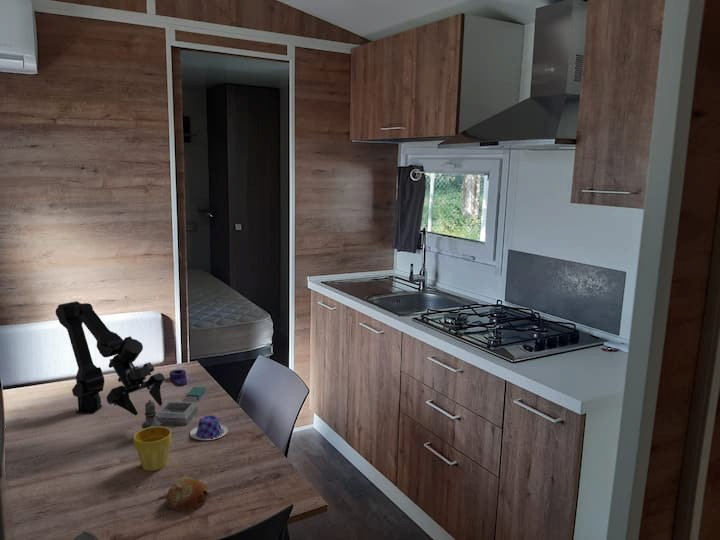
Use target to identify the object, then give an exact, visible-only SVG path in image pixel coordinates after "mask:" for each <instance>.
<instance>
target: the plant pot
mask: <svg viewBox="0 0 720 540" xmlns="http://www.w3.org/2000/svg"><path fill="white" fill-rule="evenodd" d="M172 436H173V434H172V430H171V429H170V428H169V427H166V426H161V425H160V426H156V427H149V428H145V429H143V428H141V429H140V430H138V431H137V432H136V433H134V436H133V437H132V439H133V447H134V450H135V451H136V452H137V454H138V457H139V461H140V463H141V466H142V469H143V470H145V471H148V472H149V471H151V472H152V471H158V470H161V469H163V468H164V467H166V465H167V464H168V463H167V462H168V456H169V451H170V446H171V445H172V443H173V437H172Z"/></svg>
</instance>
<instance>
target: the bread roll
mask: <svg viewBox="0 0 720 540" xmlns="http://www.w3.org/2000/svg"><path fill="white" fill-rule="evenodd" d="M208 489H209V488H208V486H207V484H206V483H204V482H202V481H200V480H199V479H195V478H193V477H190V476H182V477H180V478H179V479H177V480H176V481H174V482H173V483H172V485H171V487H169V489H168V491H167V494H166V498H165V499H166V505H167V507H168V508H169V509H170V510H171V511H176V512H187V511H191V510H195V509H197V508H199V507H201V506H203V504H205V503H206V501H207V498H208V496H209V495H210V493H209V492H208Z"/></svg>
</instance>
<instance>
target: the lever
mask: <svg viewBox="0 0 720 540" xmlns="http://www.w3.org/2000/svg"><path fill="white" fill-rule="evenodd" d="M170 380H171V381H170ZM169 381H170V382H172V383H173V384H175V385H177V386H179V387H184V385H185V386H187V385H188V380H187V372H186V370H185V369H173V370H171V371H169Z"/></svg>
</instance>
